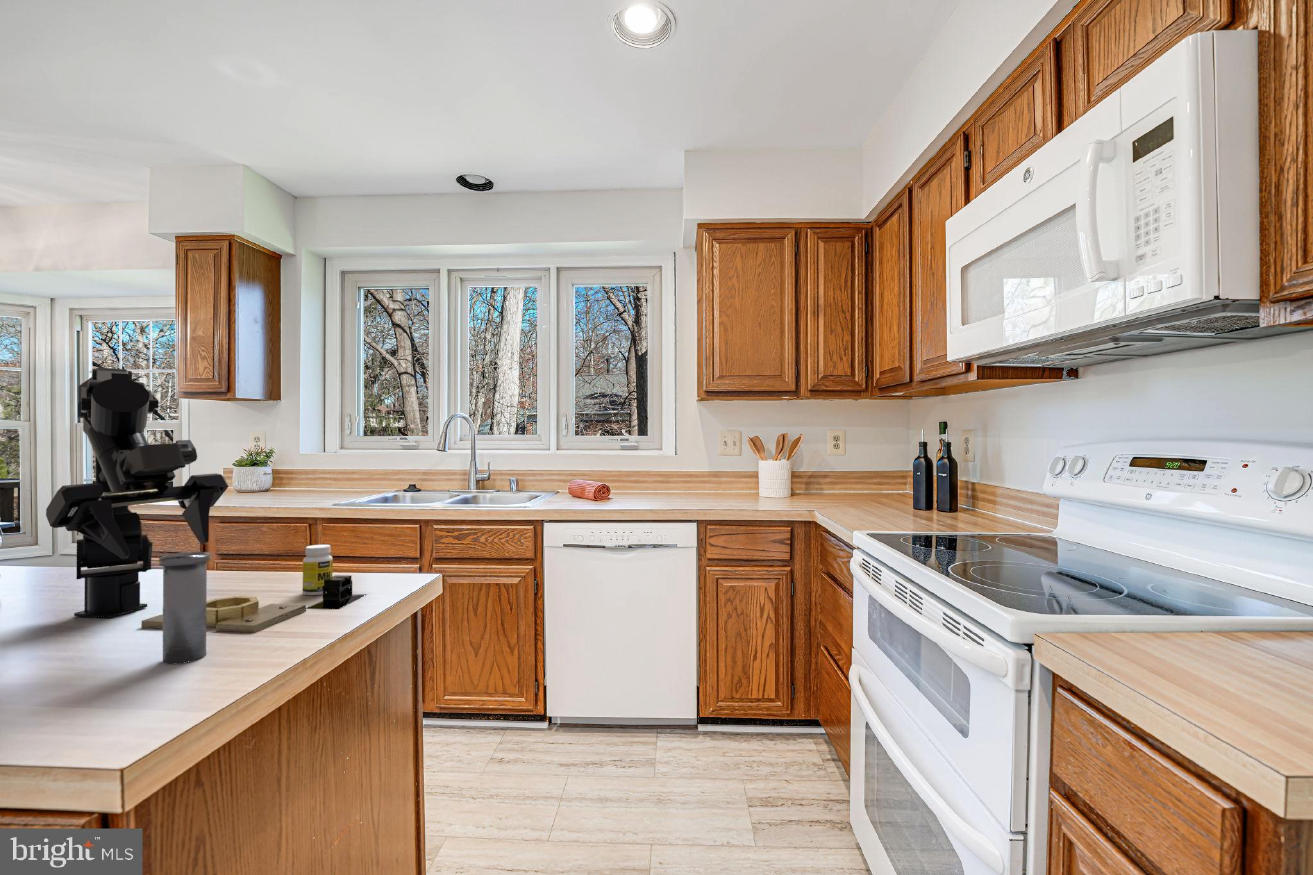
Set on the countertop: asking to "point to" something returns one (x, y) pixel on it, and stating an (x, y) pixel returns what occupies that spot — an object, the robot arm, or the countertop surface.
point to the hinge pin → (184, 606)
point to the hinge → (239, 614)
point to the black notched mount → (337, 593)
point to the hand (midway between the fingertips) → (168, 549)
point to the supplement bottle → (316, 568)
